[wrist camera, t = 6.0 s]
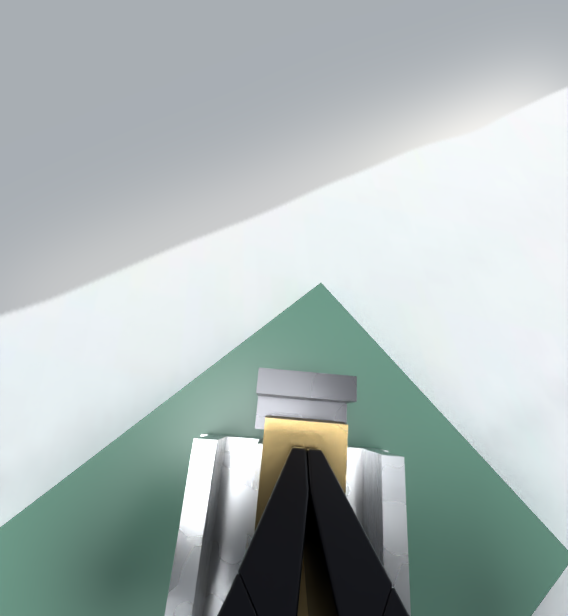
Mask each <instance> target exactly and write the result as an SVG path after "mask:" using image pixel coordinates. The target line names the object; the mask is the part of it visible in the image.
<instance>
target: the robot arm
mask: <svg viewBox="0 0 568 616" xmlns="http://www.w3.org/2000/svg"><path fill="white" fill-rule="evenodd" d="M303 559H304V571H305V582H306V594H307V606H308V616H410V615H409V614H408V612H407V610H406V608H405V606H404V604H403V602H402V601H401V599H400V597H399V595H398V593H397V591H396V589H395V588H394V587H392V582H391V580H390V578H389V576H388V574H387V572H386V571H385V569H384V567H383V565H382V563H381V561H380V559H379V557H378V555H377V554H376V552H375V550H374V548H373V546H372V544H371V542H370V540H369V538H368V537H367V535H366V533H365V531H364V529H363V527H362V525H361V523H360V521H359V519H358V518H357V516H356V514H355V512H354V510H353V508H352V506H351V504H350V502H349V501H348V499H347V497H346V495H345V493H344V491H343V489H342V487H341V485H340V484H339V482H338V480H337V478H336V476H335V474H334V472H333V470H332V468H331V467H330V465H329V463H328V461H327V459H326V457H325V455H324V453H323V452H322V451H321V450H320V449H310V448H309V449H307V451H306V449H305V448H299V447H293V448H291V450H290V452H289V455H288V457H287V459H286V462H285V464H284V466H283V468H282V471H281V473H280V475H279V478H278V480H277V482H276V484H275V487H274V489H273V491H272V494H271V496H270V498H269V500H268V503H267V505H266V507H265V510H264V512H263V514H262V516H261V519H260V521H259V523H258V526H257V528H256V530H255V533H254V535H253V537H252V539H251V542H250V544H249V546H248V549H247V551H246V553H245V555H244V558H243V560H242V562H241V565H240V567H239V569H238V573H237V574H236V575H235V578H234V580H233V582H232V585H231V587H230V589H229V591H228V594H227V596H226V598H225V600H224V602H223V604H222V606H221V609H220V611H219V613H218V615H217V616H297V615H298V604H299V594H300V584H301V574H302V563H303Z"/></svg>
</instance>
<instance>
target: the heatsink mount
mask: <svg viewBox="0 0 568 616" xmlns="http://www.w3.org/2000/svg"><path fill="white" fill-rule="evenodd" d="M256 394H257V395H258V403H257V412H256V421H255V429H263V430H264V425H265V417H266V415H272V416H283V417H294V418H306V419H317V420H329V421H340V422H344V423H346V424H347V404H349V403H353V402H357V376H349V375H337V374H326V373H315V372H303V371H292V370H281V369H269V368H259V371H258V380H257V389H256ZM262 446H263V438H253V437H242V436H230V435H219V434H207V433H205V434H201V437H198V438H194V441H193V447H192V453H191V459H190V465H189V471H188V477H187V483H186V489H185V495H184V501H183V507H182V513H181V519H180V525H179V531H178V537H177V543H176V549H175V555H174V561H173V567H172V573H171V579H170V585H169V591H168V597H167V603H166V609H165V615H164V616H217V615H218V613H219V611H220V609H221V606H222V604H223V602H224V600H225V598H226V596H227V594H228V591H229V589H230V587H231V585H232V582H233V580H234V578H235V575H236V574H237V573H238V569H239V567H240V565H241V562H242V560H243V558H244V555H245V553H246V551H247V549H248V546H249V544H250V542H251V539H252V537H253V535H254V531H255V520H256V510H257V499H258V488H259V478H260V467H261V457H262ZM346 497H347V499H348V501H349V502H350V504H351V506H352V508H353V510H354V512H355V514H356V516H357V518H358V519H359V521H360V523H361V525H362V527H363V529H364V531H365V533H366V535H367V537H368V538H369V540H370V542H371V544H372V546H373V548H374V550H375V552H376V554H377V555H378V557H379V559H380V561H381V563H382V565H383V567H384V569H385V571H386V572H387V574H388V576H389V578H390V580H391V582H392V587H394V588H395V589H396V591H397V593H398V595H399V597H400V599H401V601H402V602H403V604H404V606H405V608H406V610H407V612H408V614H409V615H410V616H411V608H410V584H409V560H408V536H407V512H406V488H405V464H404V457H403V456H399V455H396V454H392V453H389V452H388V451H387V450H383V449H378V448H366V447H355V446H347V475H346Z"/></svg>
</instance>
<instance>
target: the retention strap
mask: <svg viewBox="0 0 568 616" xmlns="http://www.w3.org/2000/svg"><path fill="white" fill-rule="evenodd" d="M347 446H348V425H347V424H346V423H344V422H340V421H329V420H317V419H306V418H294V417H283V416H272V415H266V417H265V425H264V436H263V446H262V457H261V467H260V478H259V488H258V499H257V510H256V520H255V530H256V528H257V526H258V523H259V521H260V519H261V516H262V514H263V512H264V510H265V507H266V505H267V503H268V500H269V498H270V496H271V494H272V491H273V489H274V487H275V484H276V482H277V480H278V478H279V475H280V473H281V471H282V468H283V466H284V464H285V462H286V459H287V457H288V455H289V452H290V450H291V448H293V447H299V448H305V449H306V451H307V449H309V448H310V449H320V450H321V451H322V452H323V453H324V455H325V457H326V459H327V461H328V463H329V465H330V467H331V468H332V470H333V472H334V474H335V476H336V478H337V480H338V482H339V484H340V485H341V487H342V489H343V491H344V493H345V495H346V475H347ZM254 533H255V531H254ZM297 616H308V606H307V594H306V582H305V571H304V559H303V563H302V574H301V584H300V594H299V604H298V615H297Z"/></svg>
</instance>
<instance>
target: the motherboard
mask: <svg viewBox="0 0 568 616" xmlns="http://www.w3.org/2000/svg"><path fill="white" fill-rule="evenodd" d="M259 368H269V369H281V370H292V371H303V372H315V373H326V374H337V375H349V376H357V402H353V403H349V404H347V425H348V446H355V447H366V448H378V449H383V450H387V451H388V452H389V453H392V454H396V455H399V456H403V457H404V464H405V488H406V512H407V536H408V560H409V584H410V608H411V616H531V615H532V614H533V613H534V611H535V610H536V608H537V607H538V606H539V604H540V603H541V602H542V600H543V599H544V597H545V596H546V595H547V593H548V592H549V590H550V589H551V588H552V586H553V585H554V584H555V582H556V581H557V579H558V578H559V577H560V575H561V574H562V572H563V571H564V570H565V568H566V567H567V566H568V550H567V549H566V548H565V547H564V546H563V545H562V544H561V542H560V541H559V540H558V539H557V538H556V537H555V536H554V535H553V534H552V533H551V532H550V530H549V529H548V528H547V527H546V526H545V525H544V524H543V523H542V522H541V521H540V520H539V519H538V517H537V516H536V515H535V514H534V513H533V512H532V511H531V510H530V509H529V508H528V507H527V506H526V504H525V503H524V502H523V501H522V500H521V499H520V498H519V497H518V496H517V495H516V494H515V493H514V491H513V490H512V489H511V488H510V487H509V486H508V485H507V484H506V483H505V482H504V481H503V480H502V478H501V477H500V476H499V475H498V474H497V473H496V472H495V471H494V470H493V469H492V468H491V467H490V465H489V464H488V463H487V462H486V461H485V460H484V459H483V458H482V457H481V456H480V455H479V454H478V452H477V451H476V450H475V449H474V448H473V447H472V446H471V445H470V444H469V443H468V442H467V440H466V439H465V438H464V437H463V436H462V435H461V434H460V433H459V432H458V431H457V430H456V429H455V427H454V426H453V425H452V424H451V423H450V422H449V421H448V420H447V419H446V418H445V417H444V416H443V414H442V413H441V412H440V411H439V410H438V409H437V408H436V407H435V406H434V405H433V404H432V403H431V401H430V400H429V399H428V398H427V397H426V396H425V395H424V394H423V393H422V392H421V391H420V390H419V388H418V387H417V386H416V385H415V384H414V383H413V382H412V381H411V380H410V379H409V378H408V377H407V375H406V374H405V373H404V372H403V371H402V370H401V369H400V368H399V367H398V366H397V365H396V364H395V362H394V361H393V360H392V359H391V358H390V357H389V356H388V355H387V354H386V353H385V352H384V350H383V349H382V348H381V347H380V346H379V345H378V344H377V343H376V342H375V341H374V340H373V339H372V337H371V336H370V335H369V334H368V333H367V332H366V331H365V330H364V329H363V328H362V327H361V326H360V324H359V323H358V322H357V321H356V320H355V319H354V318H353V317H352V316H351V315H350V314H349V313H348V311H347V310H346V309H345V308H344V307H343V306H342V305H341V304H340V303H339V302H338V301H337V300H336V298H335V297H334V296H333V295H332V294H331V293H330V292H329V291H328V290H327V289H326V288H325V287H324V285H323V284H322V283H320V284H319V285H317V286H316V287H315V288H313V289H312V290H311V291H309V292H308V293H307V294H305V295H304V296H303V297H302V298H300V299H299V300H298V301H296V302H295V303H294V304H292V305H291V306H290V307H288V308H287V309H286V310H285V311H283V312H282V313H281V314H279V315H278V316H277V317H275V318H274V319H273V320H271V321H270V322H269V323H268V324H266V325H265V326H264V327H262V328H261V329H260V330H258V331H257V332H256V333H254V334H253V335H252V336H250V337H249V338H248V339H247V340H245V341H244V342H243V343H241V344H240V345H239V346H237V347H236V348H235V349H233V350H232V351H231V352H230V353H228V354H227V355H226V356H224V357H223V358H222V359H220V360H219V361H218V362H216V363H215V364H214V365H213V366H211V367H210V368H209V369H207V370H206V371H205V372H203V373H202V374H201V375H199V376H198V377H197V378H195V379H194V380H193V381H192V382H190V383H189V384H188V385H186V386H185V387H184V388H182V389H181V390H180V391H178V392H177V393H176V394H175V395H173V396H172V397H171V398H169V399H168V400H167V401H165V402H164V403H163V404H161V405H160V406H159V407H158V408H156V409H155V410H154V411H152V412H151V413H150V414H148V415H147V416H146V417H144V418H143V419H142V420H140V421H139V422H138V423H137V424H135V425H134V426H133V427H131V428H130V429H129V430H127V431H126V432H125V433H123V434H122V435H121V436H120V437H118V438H117V439H116V440H114V441H113V442H112V443H110V444H109V445H108V446H106V447H105V448H104V449H103V450H101V451H100V452H99V453H97V454H96V455H95V456H93V457H92V458H91V459H89V460H88V461H87V462H85V463H84V464H83V465H82V466H80V467H79V468H78V469H76V470H75V471H74V472H72V473H71V474H70V475H68V476H67V477H66V478H65V479H63V480H62V481H61V482H59V483H58V484H57V485H55V486H54V487H53V488H51V489H50V490H49V491H48V492H46V493H45V494H44V495H42V496H41V497H40V498H38V499H37V500H36V501H34V502H33V503H32V504H30V505H29V506H28V507H27V508H25V509H24V510H23V511H21V512H20V513H19V514H17V515H16V516H15V517H13V518H12V519H11V520H10V521H8V522H7V523H6V524H4V525H3V526H2V527H0V616H164V615H165V609H166V603H167V597H168V591H169V585H170V579H171V573H172V567H173V561H174V555H175V549H176V543H177V537H178V531H179V525H180V519H181V513H182V507H183V501H184V495H185V489H186V483H187V477H188V471H189V465H190V459H191V453H192V447H193V441H194V438H198V437H201V434H205V433H207V434H219V435H230V436H242V437H253V438H263V436H264V430H263V429H255V421H256V412H257V403H258V395H257V394H256V389H257V380H258V371H259Z"/></svg>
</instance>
